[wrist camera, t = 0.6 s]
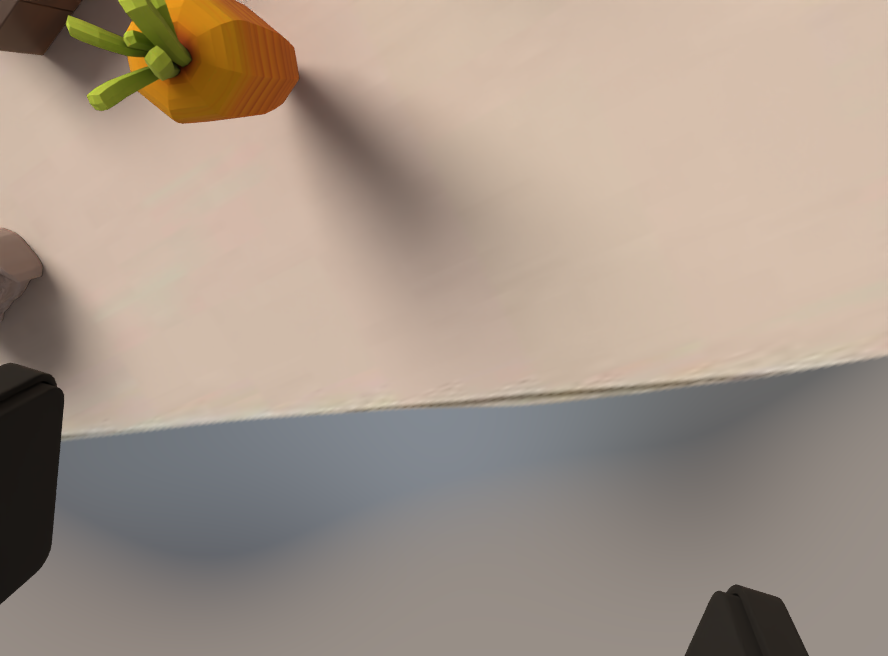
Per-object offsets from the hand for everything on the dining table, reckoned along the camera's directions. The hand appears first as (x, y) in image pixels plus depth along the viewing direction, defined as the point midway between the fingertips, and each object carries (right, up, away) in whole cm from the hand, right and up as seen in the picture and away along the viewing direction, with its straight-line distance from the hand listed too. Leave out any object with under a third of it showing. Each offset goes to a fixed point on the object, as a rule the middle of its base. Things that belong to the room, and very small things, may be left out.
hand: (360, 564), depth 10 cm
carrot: (-7, +16, +26) cm, 32 cm away
